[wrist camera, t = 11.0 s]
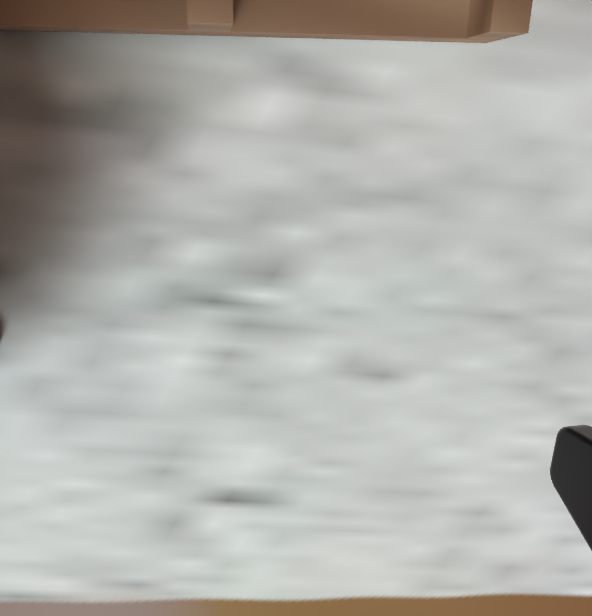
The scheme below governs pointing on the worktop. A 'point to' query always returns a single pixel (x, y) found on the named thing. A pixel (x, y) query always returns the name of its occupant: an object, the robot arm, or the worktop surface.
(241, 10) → the brown ridged slab
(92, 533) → the worktop surface
